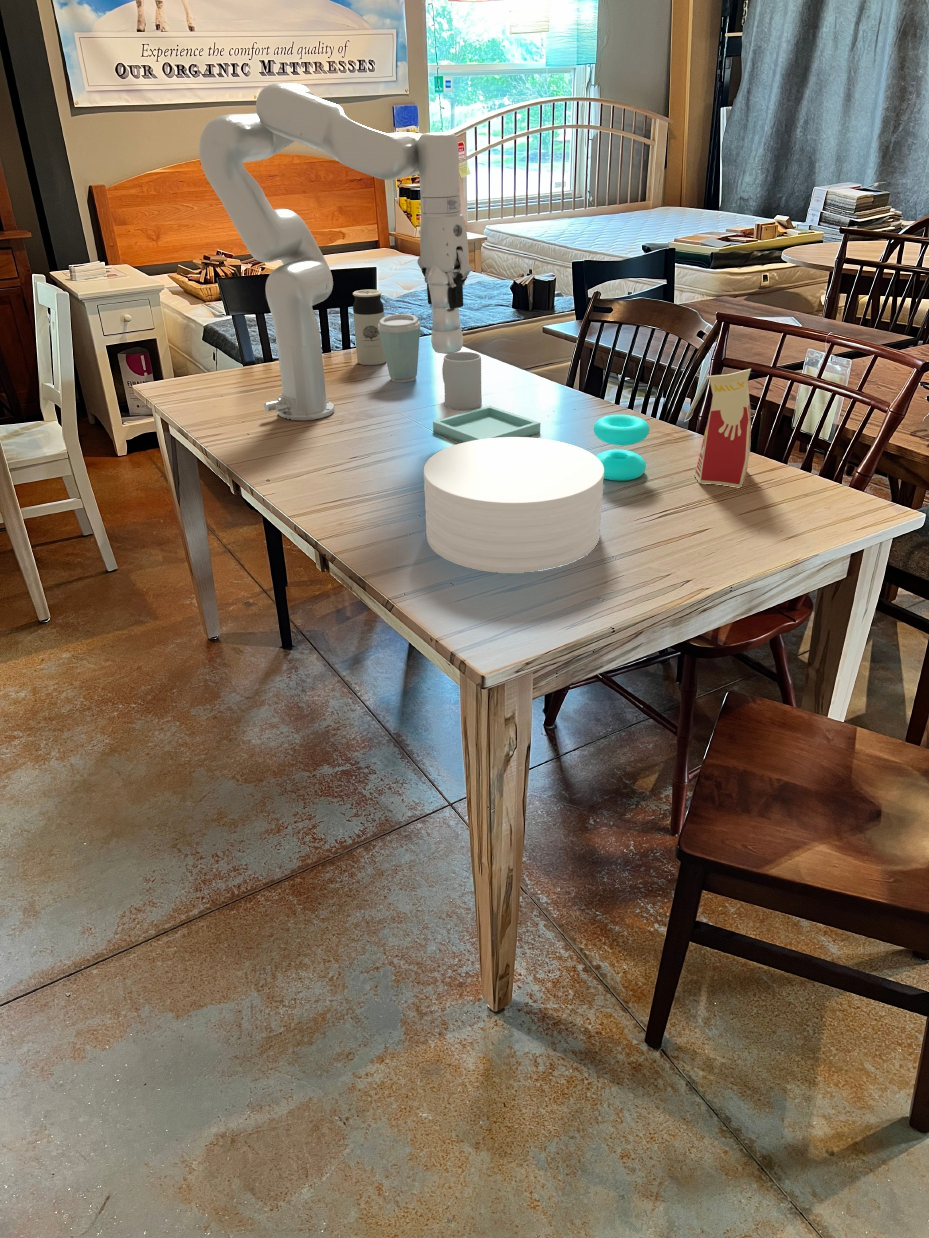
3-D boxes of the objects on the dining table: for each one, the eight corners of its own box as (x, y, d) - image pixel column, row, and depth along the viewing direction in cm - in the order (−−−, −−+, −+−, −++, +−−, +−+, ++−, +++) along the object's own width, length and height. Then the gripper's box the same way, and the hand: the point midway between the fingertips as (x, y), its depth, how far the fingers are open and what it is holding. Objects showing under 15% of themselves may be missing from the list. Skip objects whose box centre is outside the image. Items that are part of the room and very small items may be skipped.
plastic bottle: (470, 352, 179) (466, 247, 169) (447, 358, 175) (442, 252, 164) (447, 347, 183) (442, 245, 172) (425, 354, 178) (418, 250, 168)
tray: (482, 451, 173) (482, 440, 172) (433, 431, 184) (432, 421, 183) (540, 433, 182) (540, 422, 181) (489, 415, 193) (489, 405, 191)
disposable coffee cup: (422, 385, 214) (419, 322, 206) (378, 385, 214) (374, 323, 207) (424, 373, 223) (421, 312, 215) (382, 374, 223) (378, 313, 216)
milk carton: (746, 471, 162) (764, 363, 151) (743, 489, 154) (761, 377, 144) (696, 466, 164) (710, 359, 154) (691, 484, 157) (705, 373, 146)
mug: (489, 405, 199) (488, 357, 193) (458, 412, 195) (457, 363, 189) (459, 393, 207) (458, 347, 202) (429, 400, 203) (427, 352, 198)
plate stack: (468, 589, 125) (467, 516, 119) (402, 517, 147) (398, 452, 141) (633, 551, 134) (640, 482, 128) (547, 489, 156) (549, 427, 151)
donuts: (629, 409, 162) (661, 424, 155) (625, 460, 168) (656, 477, 160) (583, 417, 159) (614, 433, 151) (581, 469, 164) (610, 487, 156)
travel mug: (360, 358, 237) (355, 289, 228) (389, 358, 236) (385, 289, 227) (354, 366, 230) (348, 295, 221) (384, 366, 230) (379, 295, 220)
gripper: (485, 207, 161) (488, 308, 170) (428, 202, 172) (433, 297, 182) (454, 211, 157) (458, 314, 166) (398, 206, 168) (404, 303, 178)
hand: (445, 304), depth 174 cm, fingers closed on plastic bottle, 6 cm apart
